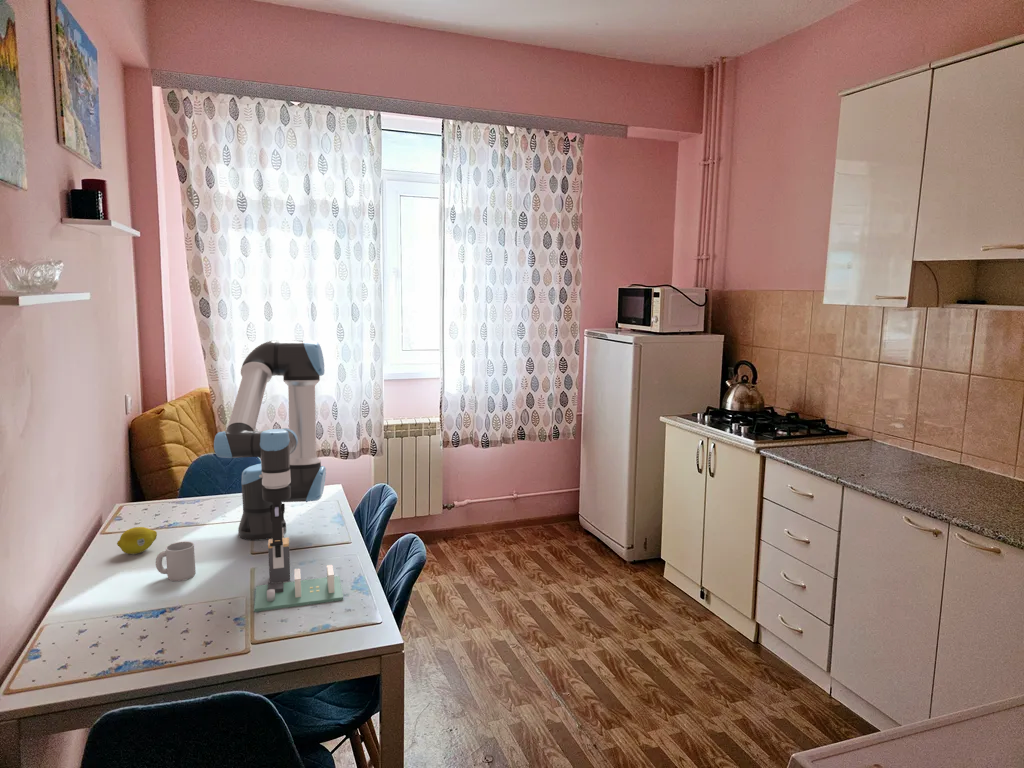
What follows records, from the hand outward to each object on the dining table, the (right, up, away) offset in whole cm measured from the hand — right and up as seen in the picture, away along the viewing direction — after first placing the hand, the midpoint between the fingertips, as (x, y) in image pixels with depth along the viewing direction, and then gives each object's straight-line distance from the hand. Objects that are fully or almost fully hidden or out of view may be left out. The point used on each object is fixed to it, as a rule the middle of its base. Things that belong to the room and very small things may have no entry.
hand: (279, 558), depth 186 cm
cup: (-30, -6, +2) cm, 30 cm away
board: (+8, -7, -8) cm, 14 cm away
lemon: (-50, -3, +19) cm, 54 cm away
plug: (0, -6, +1) cm, 6 cm away
